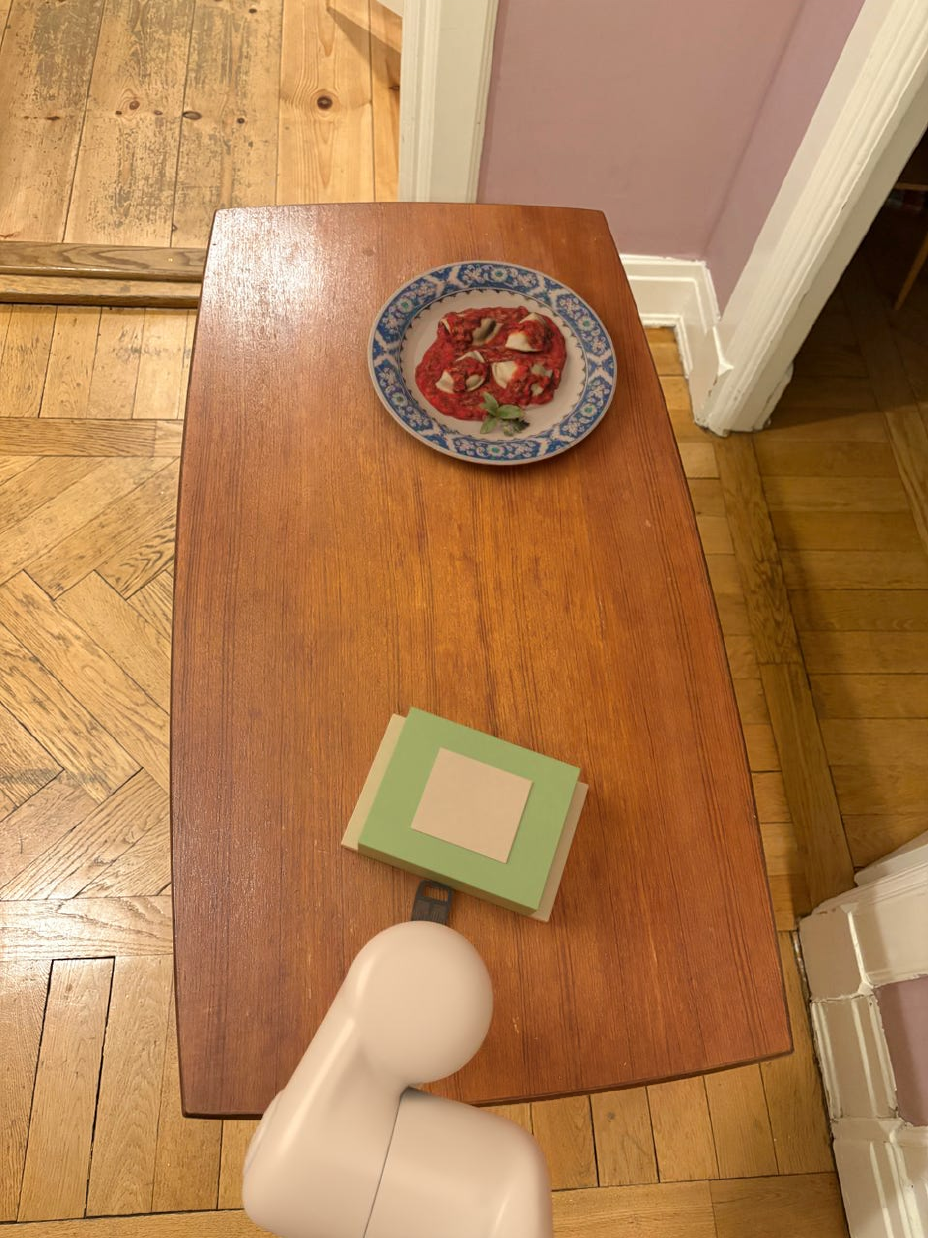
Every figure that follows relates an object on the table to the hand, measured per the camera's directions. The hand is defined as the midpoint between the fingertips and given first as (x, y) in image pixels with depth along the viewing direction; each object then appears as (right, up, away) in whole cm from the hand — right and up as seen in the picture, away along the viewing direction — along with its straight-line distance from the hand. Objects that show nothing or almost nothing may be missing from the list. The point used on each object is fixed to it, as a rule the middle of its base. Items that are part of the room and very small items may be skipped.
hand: (398, 1012), depth 73 cm
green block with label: (+5, +14, +7) cm, 16 cm away
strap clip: (+2, +5, +3) cm, 6 cm away
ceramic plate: (+8, +56, +26) cm, 63 cm away
